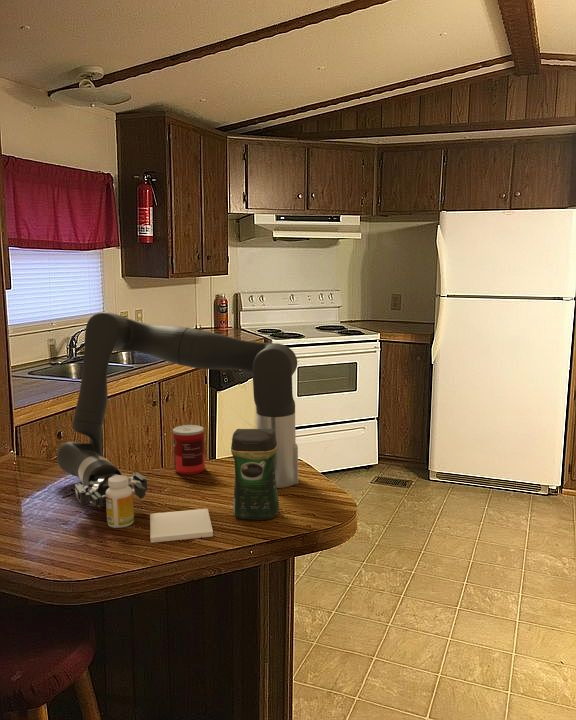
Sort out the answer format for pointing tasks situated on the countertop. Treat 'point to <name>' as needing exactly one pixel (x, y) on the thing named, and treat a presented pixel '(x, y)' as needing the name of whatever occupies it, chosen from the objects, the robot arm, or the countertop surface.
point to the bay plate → (180, 525)
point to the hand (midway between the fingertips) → (122, 498)
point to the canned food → (189, 449)
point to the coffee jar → (255, 474)
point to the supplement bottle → (119, 502)
